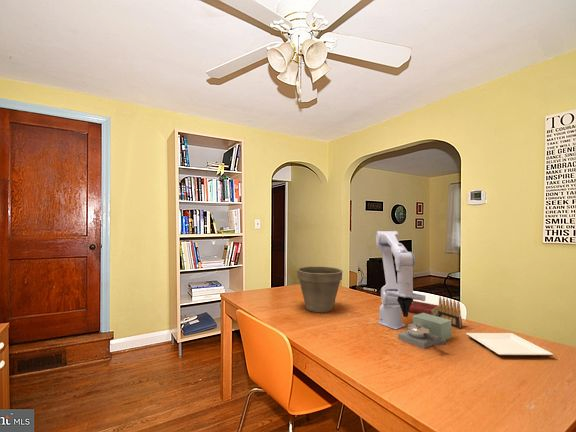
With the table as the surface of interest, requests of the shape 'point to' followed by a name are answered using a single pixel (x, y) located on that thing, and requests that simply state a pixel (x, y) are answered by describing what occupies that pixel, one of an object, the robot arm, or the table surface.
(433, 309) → the hardcover book
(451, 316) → the ammunition clip
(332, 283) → the plant pot
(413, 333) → the grey t-handle
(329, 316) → the table surface
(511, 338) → the plate
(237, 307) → the table surface
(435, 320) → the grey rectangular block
